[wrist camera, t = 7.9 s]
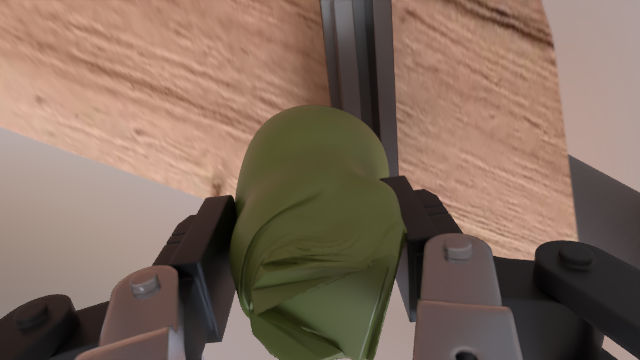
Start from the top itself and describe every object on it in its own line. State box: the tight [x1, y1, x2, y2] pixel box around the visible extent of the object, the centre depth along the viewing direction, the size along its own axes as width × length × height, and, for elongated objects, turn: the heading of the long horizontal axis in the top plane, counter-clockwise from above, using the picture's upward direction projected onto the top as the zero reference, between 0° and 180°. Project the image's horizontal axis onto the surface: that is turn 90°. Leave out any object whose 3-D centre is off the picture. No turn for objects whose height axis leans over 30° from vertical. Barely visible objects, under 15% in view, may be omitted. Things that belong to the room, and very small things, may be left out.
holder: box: [320, 0, 399, 177], centre depth 29 cm, size 5×14×6 cm, turn 7°
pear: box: [230, 105, 407, 360], centre depth 12 cm, size 6×5×10 cm
